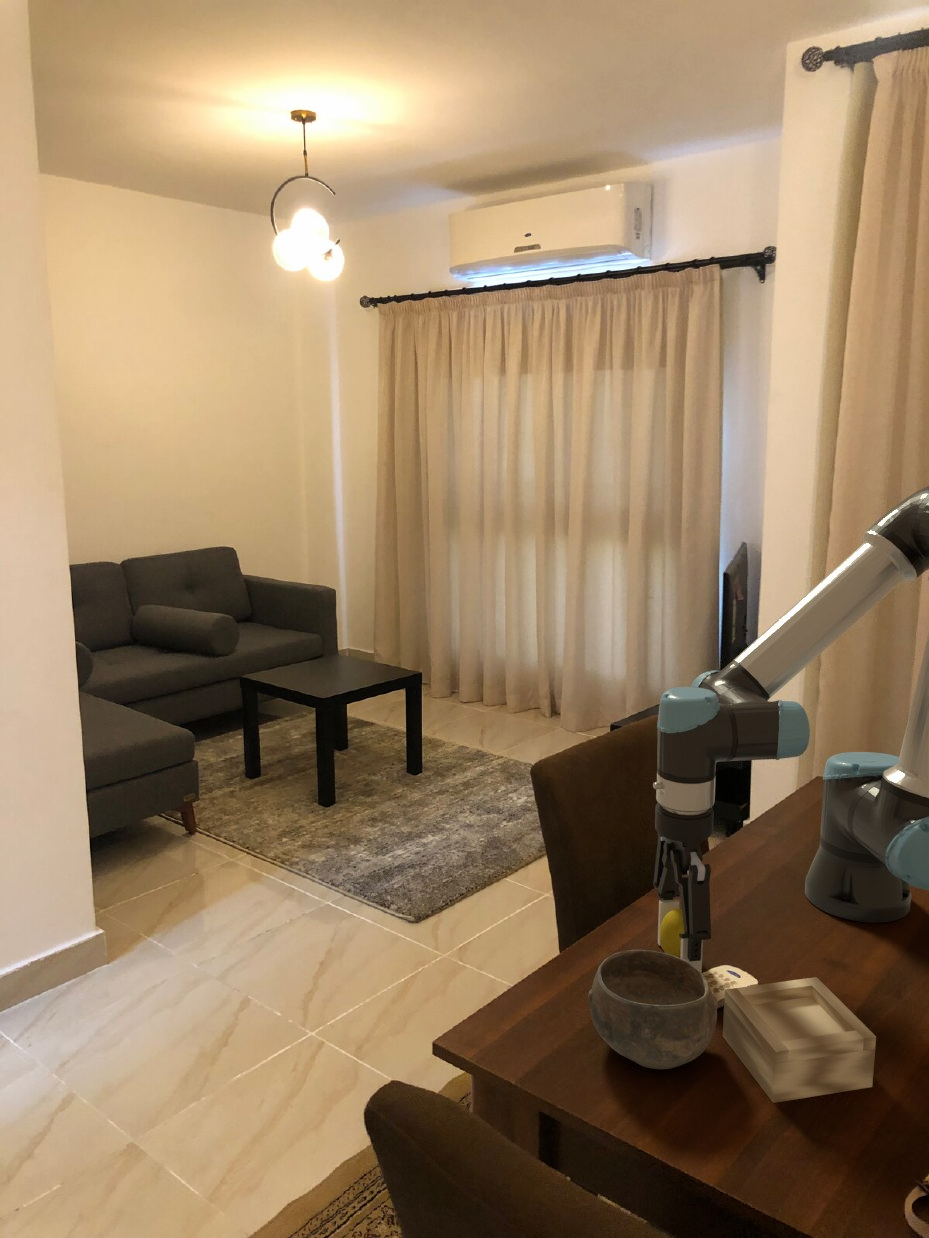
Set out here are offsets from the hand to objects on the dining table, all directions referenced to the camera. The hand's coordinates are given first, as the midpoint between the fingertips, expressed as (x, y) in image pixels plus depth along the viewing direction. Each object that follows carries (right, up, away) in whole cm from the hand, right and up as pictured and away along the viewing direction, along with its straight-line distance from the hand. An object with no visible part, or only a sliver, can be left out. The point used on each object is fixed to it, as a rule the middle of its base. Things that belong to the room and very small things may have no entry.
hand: (678, 960), depth 133 cm
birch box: (+9, -5, -21) cm, 23 cm away
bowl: (-8, -4, -19) cm, 21 cm away
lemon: (0, 0, 0) cm, 1 cm away
